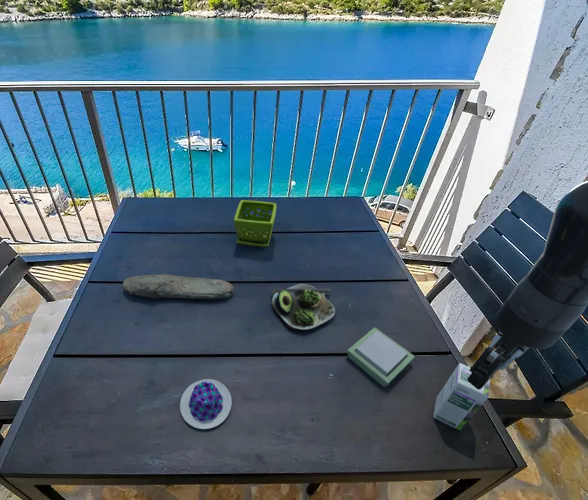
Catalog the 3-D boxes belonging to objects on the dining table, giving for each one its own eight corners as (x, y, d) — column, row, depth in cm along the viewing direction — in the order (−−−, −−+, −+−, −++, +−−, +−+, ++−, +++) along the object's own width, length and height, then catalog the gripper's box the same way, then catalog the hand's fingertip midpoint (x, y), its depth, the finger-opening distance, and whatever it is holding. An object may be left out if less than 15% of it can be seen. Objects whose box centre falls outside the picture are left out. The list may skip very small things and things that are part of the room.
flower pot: (240, 226, 138) (240, 198, 131) (275, 230, 136) (277, 202, 128) (233, 248, 128) (232, 219, 120) (270, 252, 126) (273, 223, 118)
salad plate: (313, 278, 115) (315, 267, 112) (349, 315, 103) (352, 304, 100) (262, 297, 108) (263, 286, 106) (294, 339, 96) (296, 328, 93)
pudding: (239, 419, 79) (239, 407, 76) (187, 438, 75) (185, 427, 72) (222, 374, 88) (221, 362, 84) (175, 390, 84) (172, 378, 81)
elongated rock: (232, 308, 106) (234, 286, 114) (233, 295, 103) (234, 274, 111) (118, 299, 107) (128, 278, 115) (115, 286, 104) (126, 266, 112)
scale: (411, 363, 90) (415, 356, 88) (384, 389, 84) (388, 383, 83) (372, 333, 97) (374, 327, 96) (345, 356, 92) (347, 349, 90)
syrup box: (432, 417, 79) (457, 383, 70) (435, 396, 83) (460, 361, 74) (460, 431, 77) (489, 397, 68) (462, 409, 81) (491, 374, 72)
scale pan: (406, 356, 89) (408, 353, 88) (385, 376, 84) (387, 372, 83) (375, 334, 94) (377, 330, 93) (355, 351, 90) (356, 348, 89)
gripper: (544, 350, 44) (486, 412, 54) (593, 306, 50) (532, 369, 60) (485, 311, 49) (442, 375, 59) (536, 275, 55) (489, 339, 65)
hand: (488, 372), depth 60 cm, fingers open, 8 cm apart
